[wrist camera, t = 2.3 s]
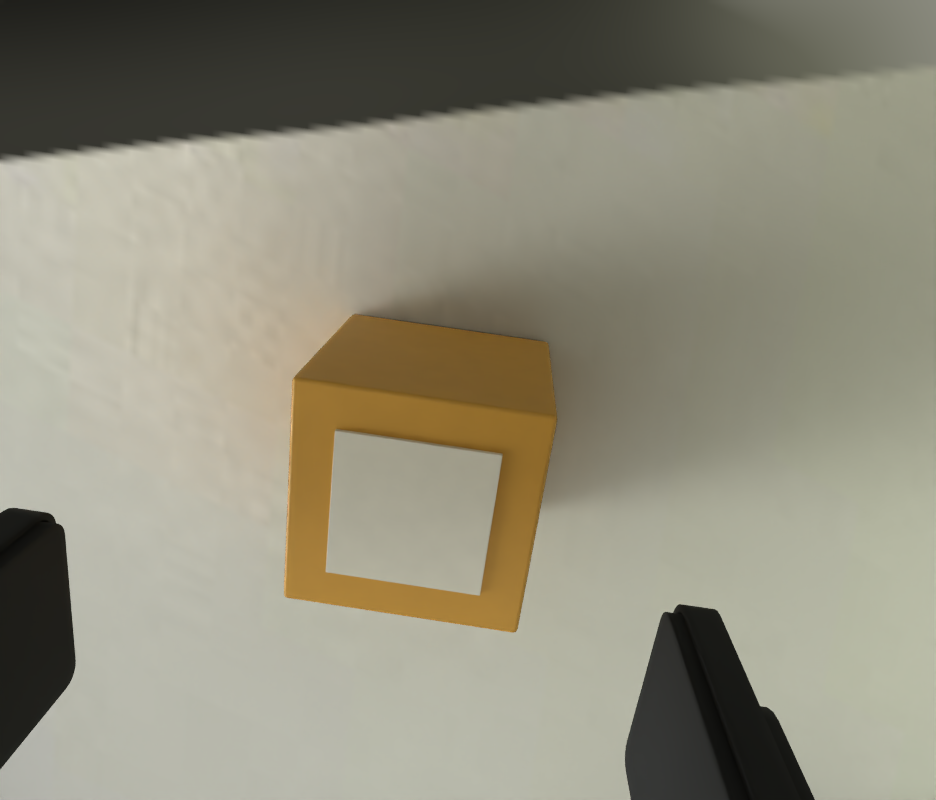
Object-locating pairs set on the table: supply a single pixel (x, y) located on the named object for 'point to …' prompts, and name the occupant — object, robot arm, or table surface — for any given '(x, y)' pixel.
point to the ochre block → (418, 471)
